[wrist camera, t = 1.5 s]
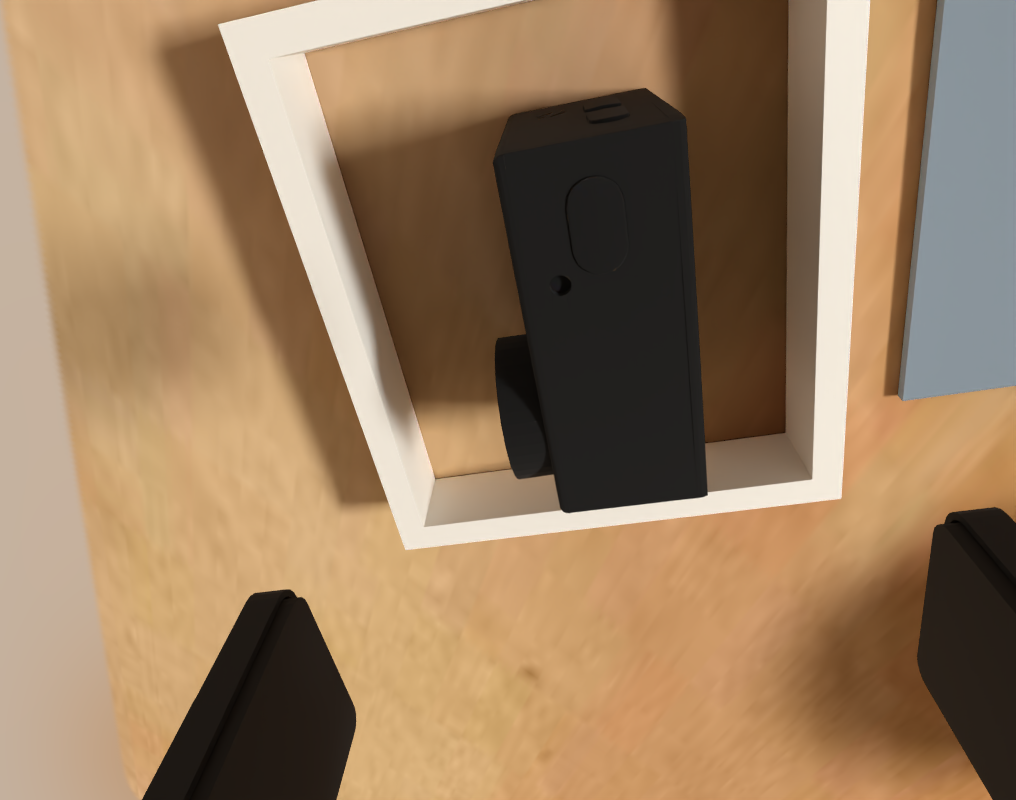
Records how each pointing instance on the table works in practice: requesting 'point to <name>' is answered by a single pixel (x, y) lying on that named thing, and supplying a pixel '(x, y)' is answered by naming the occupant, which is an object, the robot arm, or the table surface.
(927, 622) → the robot arm
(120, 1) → the table surface
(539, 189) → the digital camera
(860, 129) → the open frame
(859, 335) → the table surface
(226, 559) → the table surface
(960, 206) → the rubber mat
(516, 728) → the table surface
